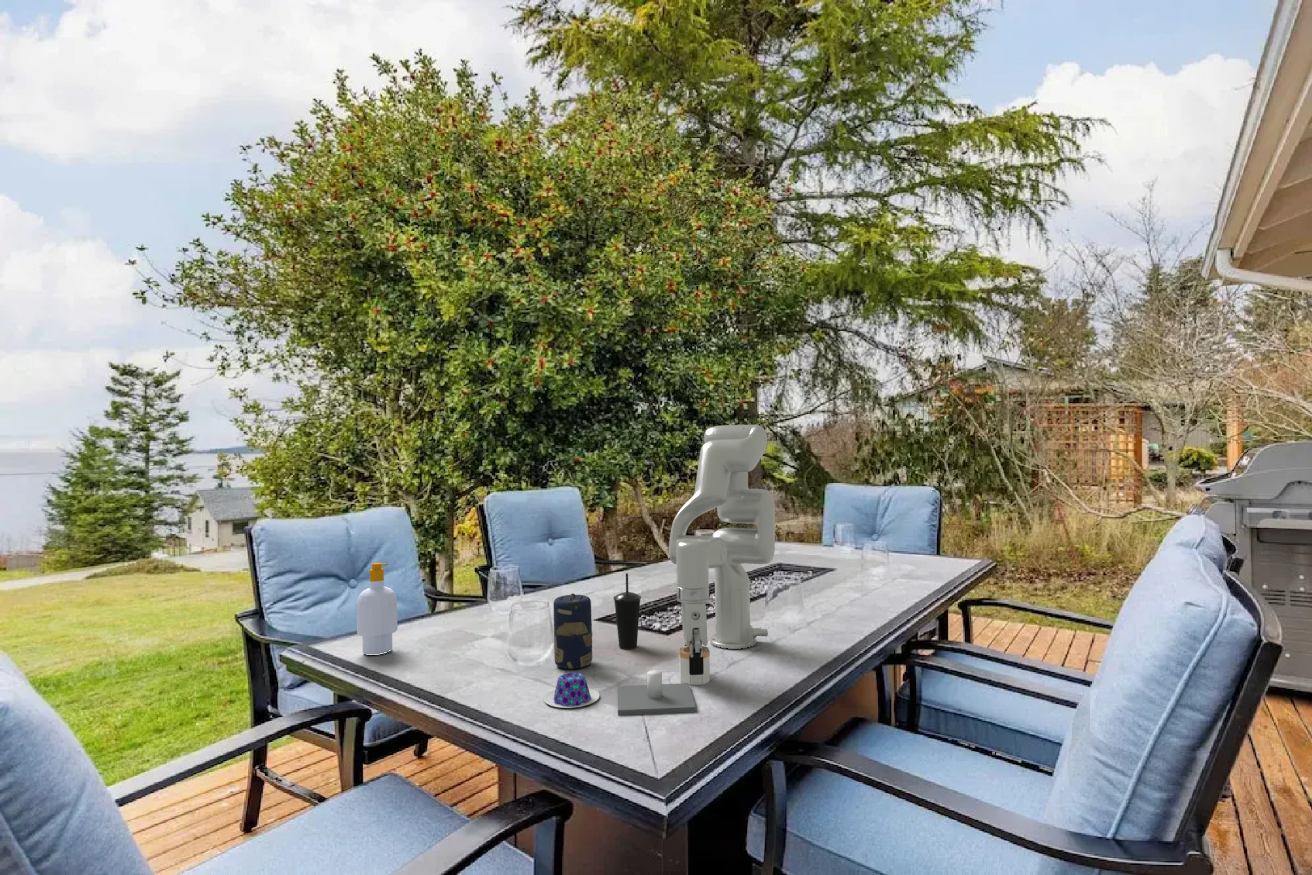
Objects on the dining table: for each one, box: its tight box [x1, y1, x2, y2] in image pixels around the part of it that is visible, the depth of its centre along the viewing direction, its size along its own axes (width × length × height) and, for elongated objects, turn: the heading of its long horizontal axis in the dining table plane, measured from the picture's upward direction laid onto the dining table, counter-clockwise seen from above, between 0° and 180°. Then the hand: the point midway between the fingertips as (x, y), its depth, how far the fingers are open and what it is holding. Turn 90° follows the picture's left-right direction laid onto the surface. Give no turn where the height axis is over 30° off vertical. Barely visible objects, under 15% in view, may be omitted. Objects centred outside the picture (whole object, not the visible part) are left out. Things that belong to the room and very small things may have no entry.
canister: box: [553, 593, 593, 670], centre depth 171 cm, size 10×10×18 cm
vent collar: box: [678, 645, 711, 686], centre depth 158 cm, size 7×7×7 cm
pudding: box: [543, 672, 600, 709], centre depth 148 cm, size 12×12×5 cm
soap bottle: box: [356, 562, 398, 655], centre depth 185 cm, size 10×10×24 cm
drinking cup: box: [612, 573, 642, 650], centre depth 186 cm, size 8×8×20 cm
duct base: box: [617, 669, 697, 716], centre depth 146 cm, size 16×14×6 cm
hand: (693, 667), depth 158 cm, fingers open, 9 cm apart
